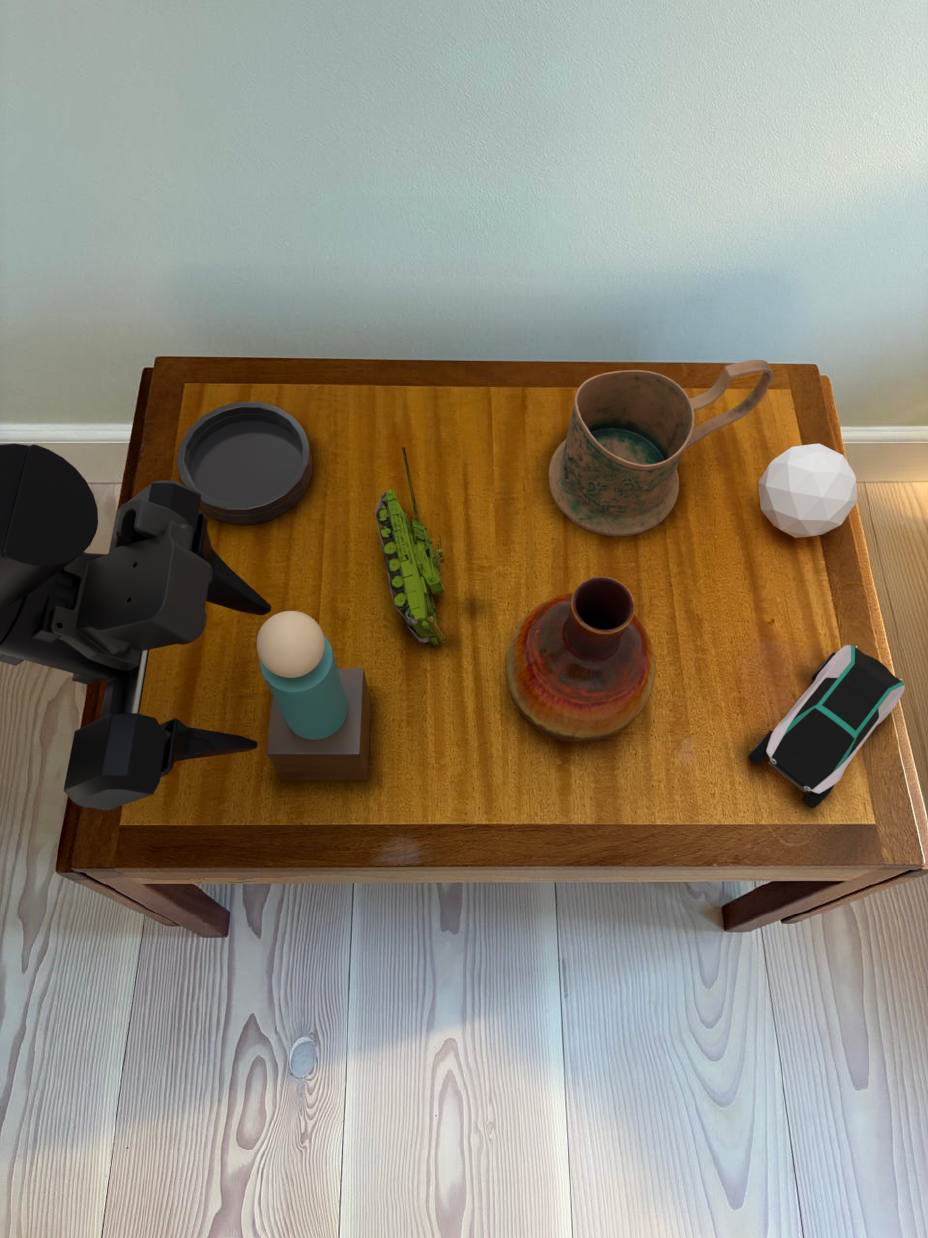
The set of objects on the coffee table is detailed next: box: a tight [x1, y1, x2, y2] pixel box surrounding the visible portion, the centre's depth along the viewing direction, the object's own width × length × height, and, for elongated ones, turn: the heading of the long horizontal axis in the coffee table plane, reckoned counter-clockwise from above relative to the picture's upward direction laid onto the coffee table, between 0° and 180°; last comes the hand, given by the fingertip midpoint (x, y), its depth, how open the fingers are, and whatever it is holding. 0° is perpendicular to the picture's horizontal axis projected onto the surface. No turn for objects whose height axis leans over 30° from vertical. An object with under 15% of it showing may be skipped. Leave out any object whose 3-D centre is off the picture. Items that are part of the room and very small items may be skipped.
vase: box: [504, 575, 657, 744], centre depth 64 cm, size 11×11×15 cm
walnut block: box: [266, 667, 372, 782], centre depth 66 cm, size 6×6×7 cm
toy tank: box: [374, 446, 460, 646], centre depth 73 cm, size 7×19×10 cm
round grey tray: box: [176, 401, 314, 526], centre depth 78 cm, size 11×11×2 cm
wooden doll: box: [256, 610, 348, 740], centre depth 56 cm, size 4×4×14 cm
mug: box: [547, 359, 774, 537], centre depth 75 cm, size 12×18×12 cm, turn 108°
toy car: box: [747, 644, 906, 810], centre depth 68 cm, size 6×12×5 cm, turn 137°
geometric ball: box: [757, 443, 858, 539], centre depth 75 cm, size 8×8×8 cm
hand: (261, 676), depth 57 cm, fingers open, 9 cm apart
